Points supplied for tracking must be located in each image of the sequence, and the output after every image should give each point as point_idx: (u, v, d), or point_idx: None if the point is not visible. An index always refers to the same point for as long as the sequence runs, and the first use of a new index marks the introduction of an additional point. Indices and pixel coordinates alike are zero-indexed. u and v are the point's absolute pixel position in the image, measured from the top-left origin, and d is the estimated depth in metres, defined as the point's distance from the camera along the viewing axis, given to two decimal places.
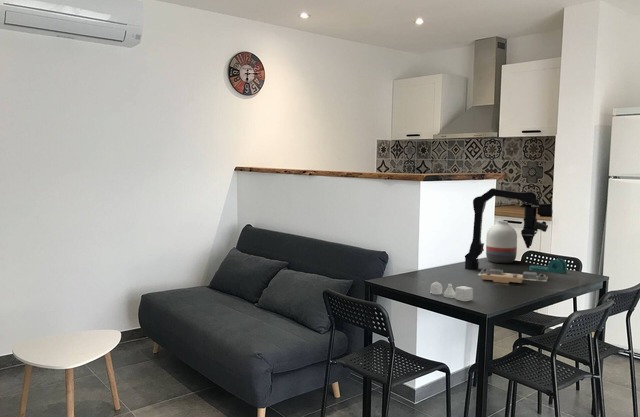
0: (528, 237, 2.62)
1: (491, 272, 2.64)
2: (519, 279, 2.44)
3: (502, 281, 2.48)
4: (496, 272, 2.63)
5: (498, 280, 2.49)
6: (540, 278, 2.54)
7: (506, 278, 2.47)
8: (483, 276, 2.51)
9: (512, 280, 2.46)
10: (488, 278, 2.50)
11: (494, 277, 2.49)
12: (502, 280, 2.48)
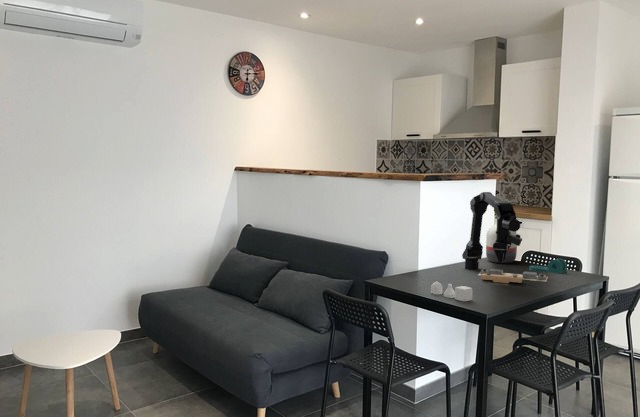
0: (500, 251, 2.44)
1: (491, 272, 2.64)
2: (519, 279, 2.44)
3: (502, 281, 2.48)
4: (496, 272, 2.63)
5: (498, 280, 2.49)
6: (540, 278, 2.54)
7: (506, 278, 2.47)
8: (483, 276, 2.51)
9: (512, 280, 2.46)
10: (488, 278, 2.50)
11: (494, 277, 2.49)
12: (502, 280, 2.48)
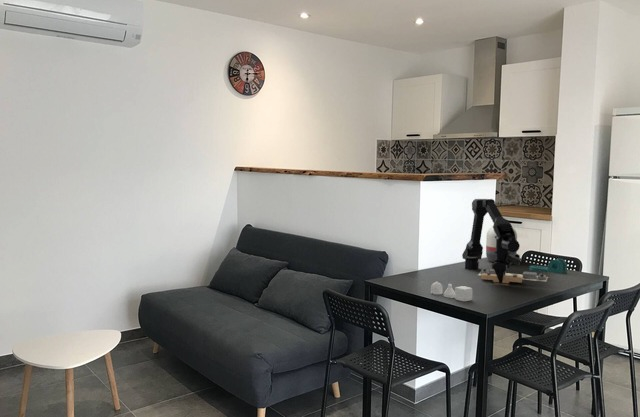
0: (500, 271, 2.46)
1: (491, 272, 2.64)
2: (519, 279, 2.44)
3: (502, 281, 2.48)
4: None
5: None
6: (540, 278, 2.54)
7: (506, 278, 2.47)
8: (483, 276, 2.51)
9: (512, 280, 2.46)
10: (488, 278, 2.50)
11: (494, 277, 2.49)
12: (502, 280, 2.48)
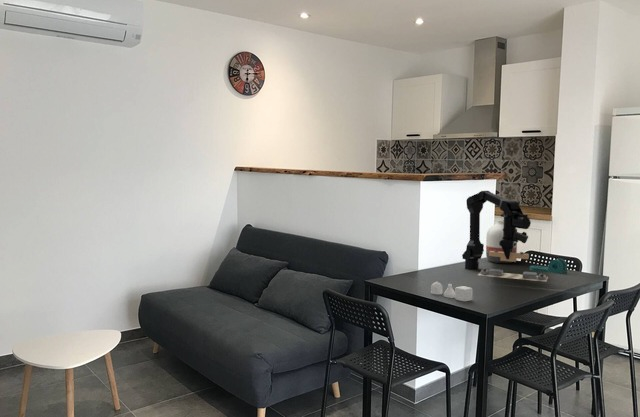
0: (507, 248, 2.53)
1: (491, 272, 2.64)
2: (526, 256, 2.51)
3: (509, 258, 2.55)
4: (496, 272, 2.63)
5: (505, 256, 2.56)
6: (540, 278, 2.54)
7: (513, 255, 2.54)
8: (491, 253, 2.59)
9: (519, 257, 2.53)
10: (495, 255, 2.58)
11: (501, 254, 2.56)
12: (509, 257, 2.55)
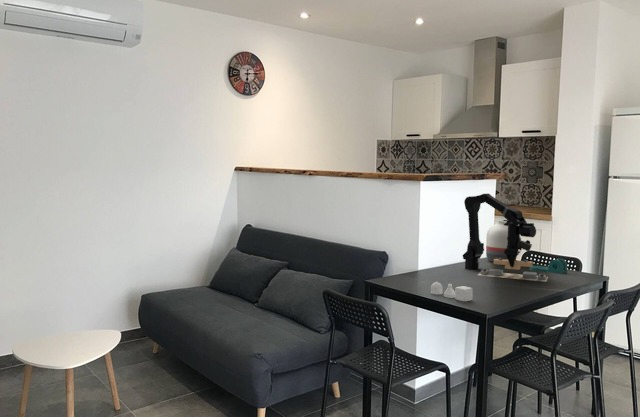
0: (512, 256, 2.59)
1: (491, 272, 2.64)
2: (530, 263, 2.57)
3: (513, 266, 2.60)
4: (496, 272, 2.63)
5: (509, 264, 2.61)
6: (540, 278, 2.54)
7: (517, 263, 2.59)
8: (495, 261, 2.64)
9: (523, 264, 2.58)
10: (500, 263, 2.63)
11: (506, 262, 2.62)
12: None
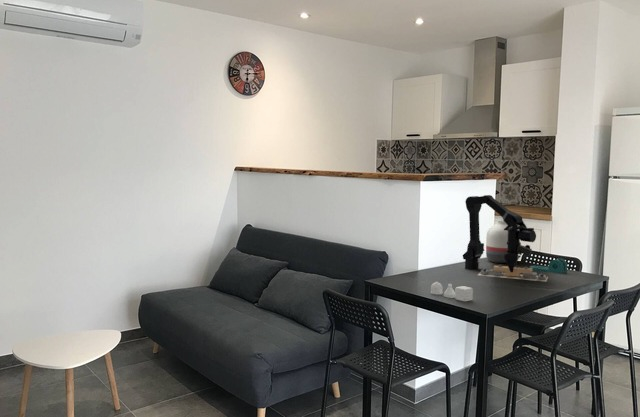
0: (511, 261, 2.58)
1: (491, 272, 2.64)
2: (530, 270, 2.57)
3: (513, 272, 2.60)
4: (496, 272, 2.63)
5: (509, 271, 2.61)
6: (540, 278, 2.54)
7: (517, 270, 2.59)
8: (495, 268, 2.64)
9: (523, 271, 2.58)
10: (500, 270, 2.63)
11: (506, 269, 2.62)
12: (513, 271, 2.60)
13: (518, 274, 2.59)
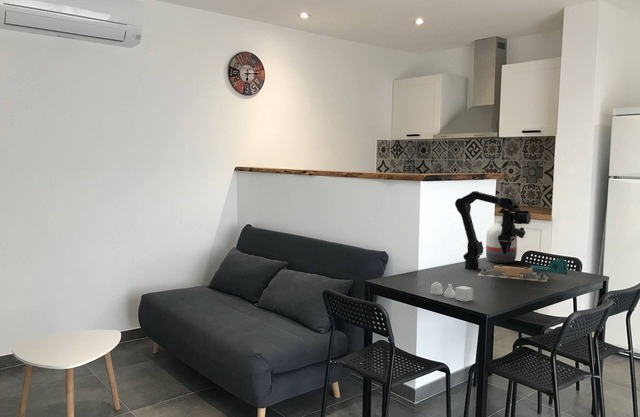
0: (505, 243, 2.63)
1: (491, 272, 2.64)
2: (530, 270, 2.57)
3: (513, 272, 2.60)
4: (496, 272, 2.63)
5: (509, 271, 2.61)
6: (540, 278, 2.54)
7: (517, 270, 2.59)
8: (495, 268, 2.64)
9: (523, 271, 2.58)
10: (500, 270, 2.63)
11: (506, 269, 2.62)
12: (513, 271, 2.60)
13: (518, 274, 2.59)
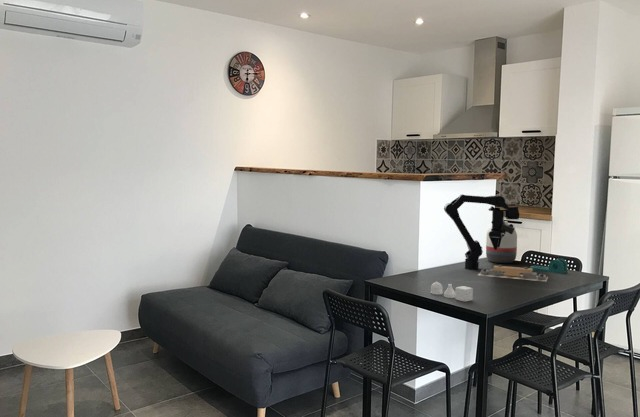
0: (495, 239, 2.74)
1: (491, 272, 2.64)
2: (530, 270, 2.57)
3: (513, 272, 2.60)
4: (496, 272, 2.63)
5: (509, 271, 2.61)
6: (540, 278, 2.54)
7: (517, 270, 2.59)
8: (495, 268, 2.64)
9: (523, 271, 2.58)
10: (500, 270, 2.63)
11: (506, 269, 2.62)
12: (513, 271, 2.60)
13: (518, 274, 2.59)
